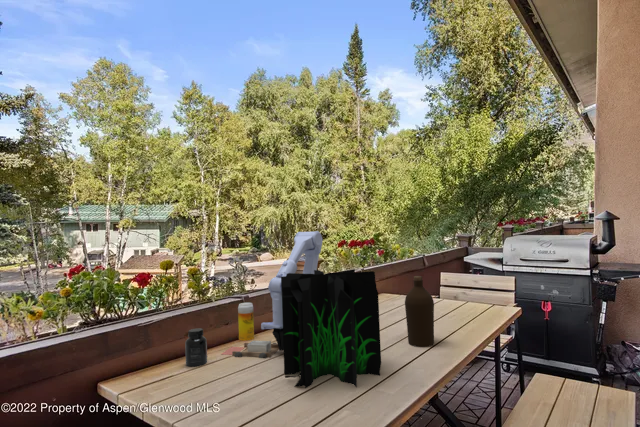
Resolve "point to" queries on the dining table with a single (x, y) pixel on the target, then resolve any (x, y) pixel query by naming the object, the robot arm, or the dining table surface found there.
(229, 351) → the tailgate
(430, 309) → the olive oil
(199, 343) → the supplement bottle
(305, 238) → the robot arm
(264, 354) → the wagon bed
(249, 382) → the dining table surface
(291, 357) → the decorative plant
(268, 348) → the block
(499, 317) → the dining table surface
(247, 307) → the yellow bottle
